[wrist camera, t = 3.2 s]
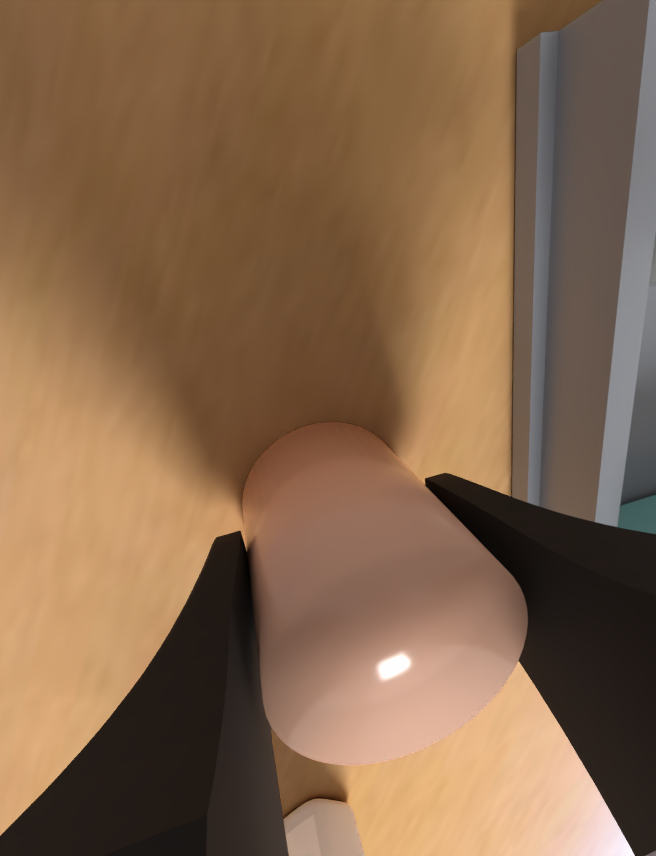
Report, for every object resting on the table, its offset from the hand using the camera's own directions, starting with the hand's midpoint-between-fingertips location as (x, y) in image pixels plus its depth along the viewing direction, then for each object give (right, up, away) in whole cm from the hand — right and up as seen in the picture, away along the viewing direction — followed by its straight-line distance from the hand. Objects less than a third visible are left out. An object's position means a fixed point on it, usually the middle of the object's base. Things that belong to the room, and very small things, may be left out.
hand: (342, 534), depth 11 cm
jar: (0, +1, +2) cm, 2 cm away
